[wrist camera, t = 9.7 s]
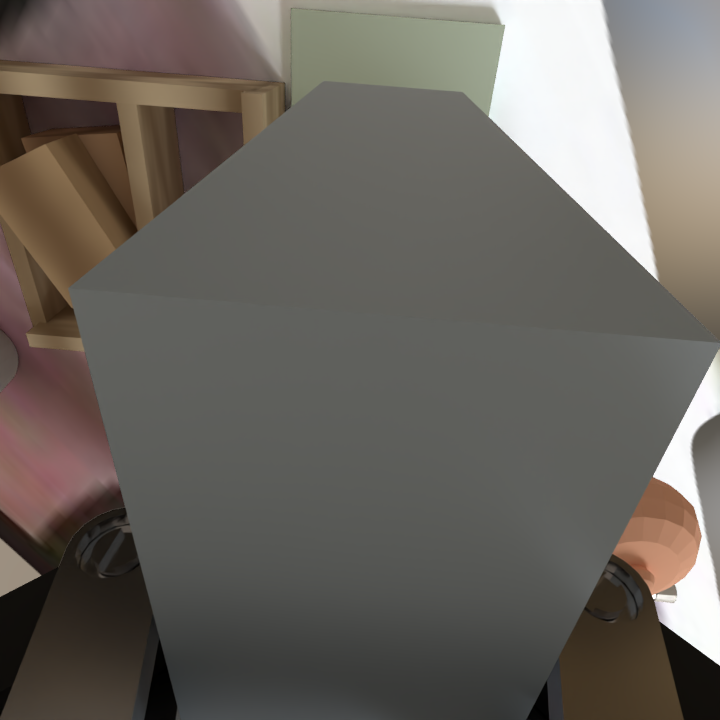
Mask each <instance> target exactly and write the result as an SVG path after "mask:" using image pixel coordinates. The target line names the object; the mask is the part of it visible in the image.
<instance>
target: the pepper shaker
mask: <svg viewBox="0 0 720 720" xmlns="http://www.w3.org/2000/svg"><path fill="white" fill-rule="evenodd" d="M700 541H701V532H700V528H699V524H698V520H697V517H696V513H695V510H694V507H693V506H692V505H691V504H690V503H689V502H688V501H687V500H686V499H685V498H684V497H683V496H682V495H681V494H680V493H679V492H678V491H677V490H675V489H674V488H673V487H671V486H670V485H668V484H666V483H664V482H662V481H660V480H658V479H655V478H653V476H652V478H651V480H650V482H649V484H648V486H647V488H646V490H645V492H644V494H643V496H642V498H641V500H640V501H639V503H638V505H637V507H636V509H635V511H634V513H633V515H632V517H631V519H630V521H629V523H628V525H627V526H626V528H625V530H624V532H623V534H622V536H621V538H620V540H619V542H618V544H617V546H616V548H615V550H614V552H613V553H612V554H614V555H615V556H617V557H619V558H620V559H622V560H624V561H625V562H627V563H628V564H629V565H630V566H631V567H632V568H633V569H635V570H636V571H637V572H638V573H639V574H640V576H641V577H642V578H643V580H644V581H645V582H646V584H647V585H648V587H649V589H650V592H651V594H652V595H654V594H656V593H659V592H661V591H663V590H666V589H668V588H670V587H672V586H673V585H674V584H676V583H677V582H679V581H680V580H681V579H683V578H684V577H685V576H686V575H687V574H688V572H689V571H690V570H691V569H692V567H693V566H694V565H695V562H696V558H697V554H698V550H699V545H700Z"/></svg>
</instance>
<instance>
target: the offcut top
mask: <svg viewBox="0 0 720 720" xmlns="http://www.w3.org/2000/svg"><path fill="white" fill-rule="evenodd" d="M0 215H1V216H2V217H3V219H4V220H5V221H6V223H7V224H8V225H9V227H10V228H11V229H12V230H13V232H14V233H15V234H16V236H17V237H18V238H19V240H20V241H21V242H22V244H23V245H24V246H25V247H26V249H27V250H28V251H29V253H30V254H31V255H32V257H33V258H34V259H35V261H36V262H37V263H38V265H39V266H40V267H41V268H42V270H43V271H44V272H45V274H46V275H47V276H48V278H49V279H50V280H51V282H52V283H53V284H54V285H55V287H56V288H57V289H58V291H59V292H60V293H61V295H62V296H63V297H64V299H65V300H66V301H67V303H68V304H69V305H70V306H71V308H73V305H72V301H71V297H70V294H69V290H68V288H69V287H70V286H71V285H73V284H74V283H75V282H76V281H78V280H79V279H80V278H81V277H83V276H84V275H85V274H86V273H87V272H89V271H90V270H91V269H92V268H94V267H95V266H96V265H97V264H99V263H100V262H101V261H102V260H104V259H105V258H106V257H107V256H108V255H110V254H111V253H112V252H113V251H115V250H116V249H117V248H118V247H120V246H121V245H122V244H123V243H124V242H126V241H127V240H128V239H129V238H131V237H132V236H133V235H134V234H136V233H137V232H138V230H137V228H136V227H135V225H134V224H133V222H132V220H131V219H130V217H129V216H128V214H127V213H126V211H125V209H124V208H123V206H122V205H121V203H120V201H119V200H118V198H117V197H116V195H115V194H114V192H113V190H112V189H111V187H110V186H109V184H108V183H107V181H106V179H105V178H104V176H103V175H102V173H101V172H100V170H99V168H98V167H97V165H96V164H95V162H94V160H93V159H92V157H91V156H90V154H89V153H88V151H87V149H86V148H85V146H84V145H83V143H82V142H81V140H80V138H79V137H78V135H77V134H73V135H70V136H67V137H64V138H61V139H58V140H56V141H53V142H50V143H47V144H44V145H42V146H40V147H38V148H36V149H34V150H32V151H30V152H28V153H26V154H24V155H22V156H20V157H18V158H16V159H14V160H12V161H10V162H8V163H6V164H4V165H2V166H0Z"/></svg>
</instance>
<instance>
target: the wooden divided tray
mask: <svg viewBox="0 0 720 720" xmlns="http://www.w3.org/2000/svg"><path fill="white" fill-rule="evenodd" d="M21 95H26V96H39V97H51V98H63V99H76V100H88V101H100V102H113V103H116V105H117V111H118V116H119V122H120V128H121V134H122V140H123V146H124V152H125V158H126V164H127V169H128V175H129V181H130V187H131V193H132V199H133V205H134V211H135V217H136V222H137V228H138V231H139V230H140V229H142V228H143V227H144V226H145V225H147V224H148V223H149V222H150V221H152V220H153V219H154V218H155V217H156V216H158V215H159V214H160V213H161V212H163V211H164V210H165V209H166V208H168V207H169V206H170V205H171V204H173V203H174V202H175V201H176V200H177V199H179V198H180V197H181V196H182V195H184V189H183V180H182V172H181V163H180V154H179V146H178V137H177V128H176V120H175V111H174V107H175V108H187V109H199V110H212V111H224V112H236V113H242V123H243V143H244V145H245V144H246V143H248V142H249V141H250V140H251V139H253V138H254V137H255V136H256V135H258V134H259V133H260V132H261V131H262V130H264V129H265V128H266V127H267V126H269V125H270V124H271V123H272V122H274V121H275V120H276V119H277V118H278V117H280V116H281V115H282V114H283V113H285V83H281V82H269V81H257V80H244V79H232V78H219V77H207V76H194V75H182V74H169V73H157V72H144V71H132V70H120V69H107V68H95V67H82V66H70V65H57V64H45V63H32V62H20V61H7V60H0V166H2V165H4V164H6V163H8V162H10V161H12V160H14V159H16V158H18V157H20V156H22V155H24V154H26V151H25V148H24V145H23V143H22V140H21V138H23V137H26V136H29V135H31V132H30V128H29V124H28V121H27V117H26V113H25V109H24V105H23V101H22V97H21ZM0 223H1V226H2V229H3V232H4V236H5V239H6V242H7V245H8V248H9V251H10V255H11V258H12V261H13V264H14V267H15V271H16V274H17V277H18V280H19V283H20V286H21V290H22V293H23V296H24V299H25V302H26V306H27V309H28V312H29V315H30V318H31V321H32V325H33V328H32V329H31V330H29V331H28V332H27V333H26V336H27V339H28V342H29V345H30V347H37V348H49V349H61V350H72V351H84V347H83V343H82V339H81V336H80V332H79V328H78V324H77V320H76V317H75V313H74V309H73V308H71V306H70V305H69V304H68V303H67V301H66V300H65V299H64V297H63V296H62V295H61V293H60V292H59V291H58V289H57V288H56V287H55V285H54V284H53V283H52V282H51V280H50V279H49V278H48V276H47V275H46V274H45V272H44V271H43V270H42V268H41V267H40V266H39V265H38V263H37V262H36V261H35V259H34V258H33V257H32V255H31V254H30V253H29V251H28V250H27V249H26V247H25V246H24V245H23V244H22V242H21V241H20V240H19V238H18V237H17V236H16V234H15V233H14V232H13V230H12V229H11V228H10V227H9V225H8V224H7V223H6V221H5V220H4V219H3V217H2V216H1V215H0ZM84 352H85V351H84Z"/></svg>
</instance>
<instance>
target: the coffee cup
mask: <svg viewBox="0 0 720 720" xmlns="http://www.w3.org/2000/svg"><path fill="white" fill-rule="evenodd" d="M17 366H18V354H17V351H16V348H15V346H14V345H13V343H12V341H11V340H10V339H9V338H8V337H7V335H6V334H5V333H4V332H3V331H1V330H0V392H1V391H2V390H3V389H4V388H5V387H6V386H7V385H8V383H9V382H10V381H11V380H12V379H13V378H14V376H15V374H16V372H17Z"/></svg>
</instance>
